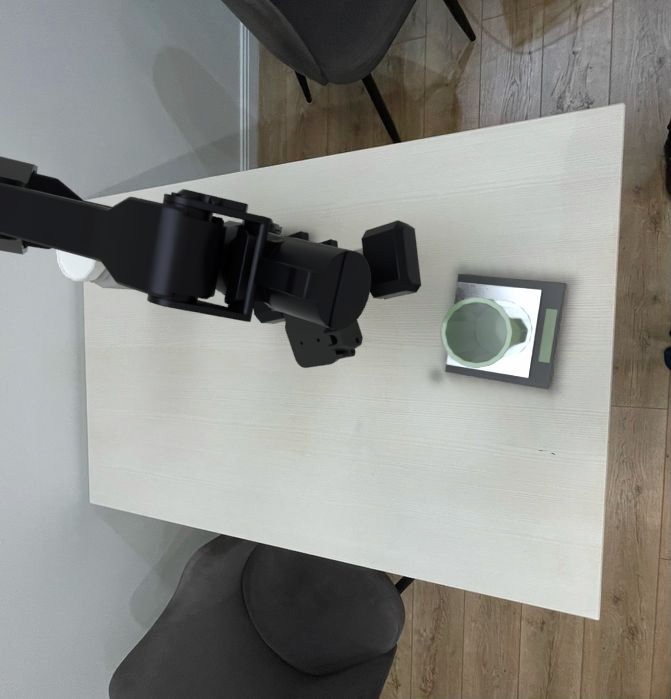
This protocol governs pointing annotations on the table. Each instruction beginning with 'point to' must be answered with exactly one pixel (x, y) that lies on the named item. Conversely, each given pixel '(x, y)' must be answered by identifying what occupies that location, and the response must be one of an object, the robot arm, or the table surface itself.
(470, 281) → the scale
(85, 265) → the jar
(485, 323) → the tumbler
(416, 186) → the table surface
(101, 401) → the table surface
